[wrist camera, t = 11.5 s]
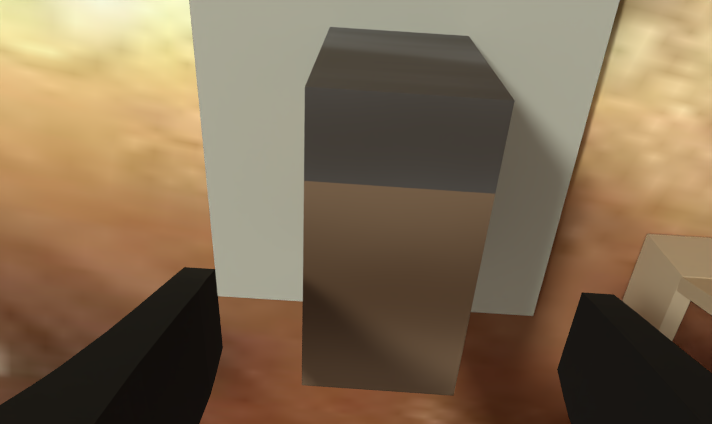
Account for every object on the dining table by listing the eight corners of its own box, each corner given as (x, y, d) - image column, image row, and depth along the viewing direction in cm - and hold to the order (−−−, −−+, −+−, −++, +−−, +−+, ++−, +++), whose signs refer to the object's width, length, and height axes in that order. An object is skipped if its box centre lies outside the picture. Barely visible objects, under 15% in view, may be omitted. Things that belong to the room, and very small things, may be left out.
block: (433, 264, 19) (453, 395, 14) (322, 257, 19) (301, 385, 14) (468, 35, 15) (514, 100, 10) (329, 26, 15) (305, 87, 10)
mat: (529, 307, 21) (532, 315, 20) (221, 287, 21) (217, 296, 20) (620, -32, 15) (627, -30, 14) (189, -56, 15) (183, -55, 15)
